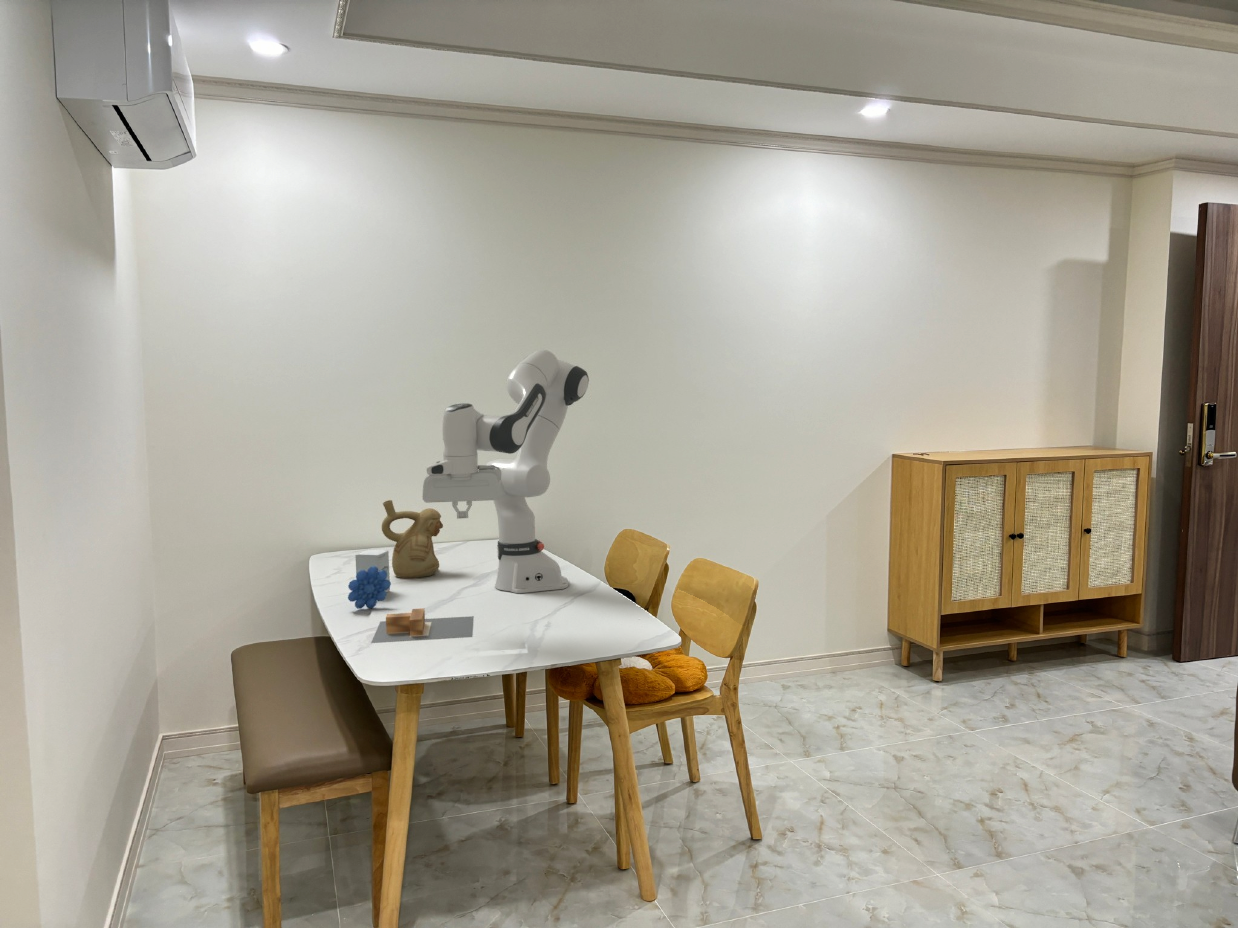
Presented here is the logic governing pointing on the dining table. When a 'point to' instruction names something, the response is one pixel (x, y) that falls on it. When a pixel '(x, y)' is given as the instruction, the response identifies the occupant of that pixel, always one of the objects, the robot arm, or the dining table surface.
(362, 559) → the supplement box
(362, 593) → the blue lumpy cluster
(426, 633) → the push board
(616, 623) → the dining table surface
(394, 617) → the t block
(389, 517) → the ceramic vessel
